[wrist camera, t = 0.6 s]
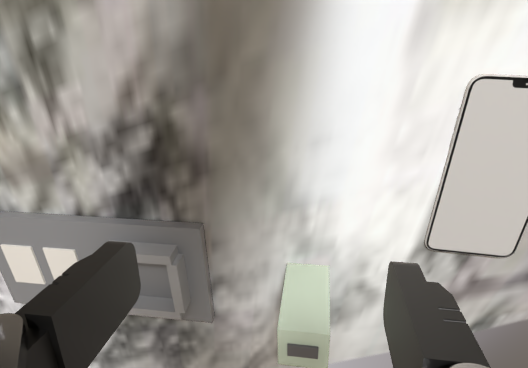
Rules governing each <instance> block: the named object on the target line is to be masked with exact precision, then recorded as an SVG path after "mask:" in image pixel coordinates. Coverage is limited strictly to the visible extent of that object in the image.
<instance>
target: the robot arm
mask: <svg viewBox="0 0 528 368" xmlns="http://www.w3.org/2000/svg"><path fill="white" fill-rule="evenodd" d="M140 289H141V282H140V276H139V269H138V263H137V257H136V250H135V247H134V245H133V244H132V243H130V242H116V241H108V242H106V243H104V244H103V245H102V246H101V247H100V248H99V249H98V250H96V251H95V252H94V253H93V254H92V255H89V256H87V257H85V258H84V259H82V260H80V261H78V262H76V263H74V264H73V265H72V266H70V267H69V268H68V269H67V270H66V271H64V272H63V273H62V276H59V277H57V278H56V279H55V280H54V281H53V282H52V284H49V285H48V286H47V287H46V288H44V289H43V290H42V291H41V292H40V293H39V294H37V295H36V296H35V297H34V298H33V299H31V300H30V301H29V302H28V303H27V304H26V305H24V306H23V307H22V308H21V309H20V310H18V311H17V312H16V313H15V314H12V313H4V314H0V368H88V366H89V365H90V364H91V362H92V361H93V360H94V358H95V357H96V356H97V354H98V353H99V352H100V350H101V349H102V348H103V346H104V345H105V344H106V342H107V341H108V340H109V338H110V337H111V336H112V334H113V333H114V332H115V330H116V329H117V328H118V326H119V325H120V324H121V322H122V321H123V320H124V318H125V317H126V316H127V314H128V313H129V312H130V310H131V309H132V308H133V306H134V305H135V303H136V302H137V300H138V298H139V294H140ZM383 316H384V327H385V332H386V336H387V341H388V346H389V350H390V355H391V359H392V364H393V368H491V367H490V366H489V364H488V362H487V360H486V358H485V356H484V354H483V352H482V350H481V348H480V347H479V345H478V343H477V341H476V339H475V337H474V335H473V333H472V331H471V330H470V328H469V326H468V324H466V320H465V318H464V316H463V314H462V312H460V309H459V307H458V305H457V303H456V301H455V299H454V297H453V295H452V294H451V293H449V292H448V291H447V290H446V289H445V288H444V287H443V286H441V285H440V284H439V283H436V282H426V280H425V277H424V275H423V273H422V271H421V268H420V266H419V265H418V264H417V263H404V262H390V264H389V268H388V275H387V283H386V292H385V300H384V311H383Z"/></svg>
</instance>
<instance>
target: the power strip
mask: <svg viewBox="0 0 528 368" xmlns="http://www.w3.org/2000/svg"><path fill="white" fill-rule="evenodd" d="M108 241H116V242H130V243H132V244H133V245H134V247H135V250H136V257H137V263H138V269H139V276H140V282H141V289H140V294H139V298H138V300H137V302H136V303H135V305H134V306H133V308H132V309H131V310H130V312H129V313H128V315H137V316H147V317H156V318H166V319H176V320H190V321H200V322H209V323H212V322H213V319H214V316H215V315H214V307H213V299H212V291H211V283H210V275H209V267H208V259H207V251H206V243H205V235H204V227H203V223H190V222H174V221H157V220H140V219H124V218H107V217H91V216H74V215H57V214H41V213H24V212H8V211H0V271H1V273H2V276H3V278H4V280H5V282H6V284H7V287H8V289H9V291H10V293H11V295H12V297H13V300H14V302H16V303H25V304H27V303H28V302H29V301H30V300H31V299H33V298H34V297H35V296H36V295H37V294H39V293H40V292H41V291H42V290H43V289H44V288H46V287H47V286H48V285H49V284H52V282H53V281H54V280H55V279H56V278H57V277H59V276H62V273H63V272H64V271H66V270H67V269H68V268H69V267H70V266H72V265H73V264H74V263H76V262H78V261H80V260H82V259H84V258H85V257H87V256H89V255H92V254H93V253H94V252H95V251H96V250H98V249H99V248H100V247H101V246H102V245H103V244H104V243H106V242H108Z"/></svg>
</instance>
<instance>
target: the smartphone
mask: <svg viewBox="0 0 528 368" xmlns="http://www.w3.org/2000/svg"><path fill="white" fill-rule="evenodd" d="M450 146H451V147H450V149H449V152H448V156H447V160H446V163H445V167H444V171H443V174H442V178H441V182H440V185H439V189H438V193H437V196H436V200H435V204H434V207H433V211H432V215H431V218H430V222H429V226H428V229H427V233H426V237H425V245H426V244H427V245H426V247H427V248H428V249H430V250H433V251H440V252H449V253H458V254H468V255H477V256H487V257H497V258H506V257H509V256H511V255H513V254H514V253H515V252H516V250H517V248H518V245H519V243H520V241H521V238H522V236H523V234H524V231H525V229H526V227H527V224H528V76H520V75H498V74H481V75H478V76H475V77H474V78H472V79H471V80H470V81H469V83H468V85H467V87H466V90H465V94H464V97H463V101H462V107H461V108H460V112H459V116H458V117H457V121H456V125H455V128H454V133H453V136H452V139H451V143H450Z"/></svg>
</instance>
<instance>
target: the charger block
mask: <svg viewBox="0 0 528 368" xmlns="http://www.w3.org/2000/svg"><path fill="white" fill-rule="evenodd" d="M329 342H330V291H329V266H323V265H310V264H296V263H287V267H286V274H285V281H284V287H283V294H282V301H281V307H280V314H279V321H278V327H277V345H278V364H281V365H289V366H297V367H306V368H328V356H329Z"/></svg>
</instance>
